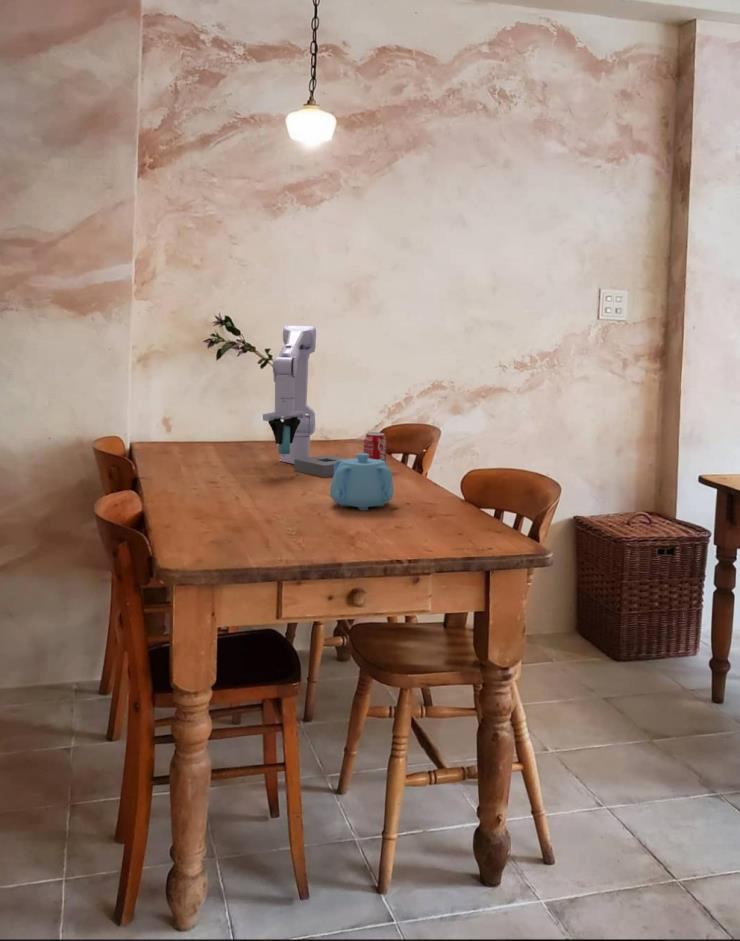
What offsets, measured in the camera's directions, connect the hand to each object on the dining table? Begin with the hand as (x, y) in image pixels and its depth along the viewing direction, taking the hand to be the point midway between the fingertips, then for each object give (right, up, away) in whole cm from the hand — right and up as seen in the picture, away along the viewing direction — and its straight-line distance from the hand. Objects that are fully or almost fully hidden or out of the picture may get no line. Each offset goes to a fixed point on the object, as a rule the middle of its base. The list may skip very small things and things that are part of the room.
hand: (284, 443), depth 275 cm
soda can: (+27, -9, +13) cm, 31 cm away
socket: (+12, -8, +11) cm, 18 cm away
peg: (0, -3, +1) cm, 3 cm away
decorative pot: (+23, -17, -36) cm, 46 cm away
